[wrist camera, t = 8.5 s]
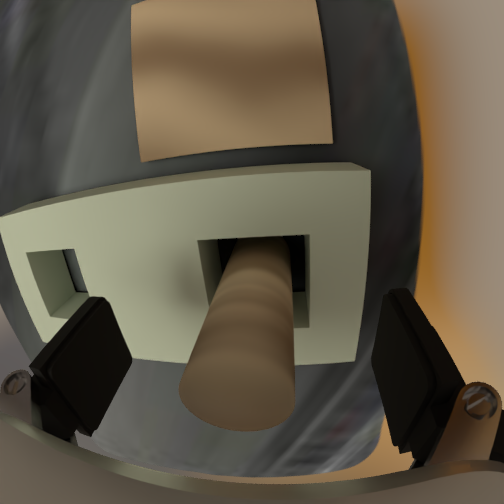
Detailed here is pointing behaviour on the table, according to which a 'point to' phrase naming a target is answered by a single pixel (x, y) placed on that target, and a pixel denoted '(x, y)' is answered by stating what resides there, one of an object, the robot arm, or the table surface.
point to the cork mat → (227, 75)
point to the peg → (246, 342)
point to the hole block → (197, 252)
